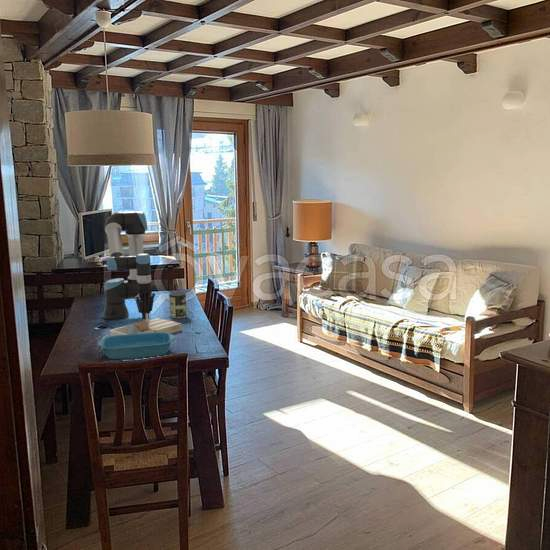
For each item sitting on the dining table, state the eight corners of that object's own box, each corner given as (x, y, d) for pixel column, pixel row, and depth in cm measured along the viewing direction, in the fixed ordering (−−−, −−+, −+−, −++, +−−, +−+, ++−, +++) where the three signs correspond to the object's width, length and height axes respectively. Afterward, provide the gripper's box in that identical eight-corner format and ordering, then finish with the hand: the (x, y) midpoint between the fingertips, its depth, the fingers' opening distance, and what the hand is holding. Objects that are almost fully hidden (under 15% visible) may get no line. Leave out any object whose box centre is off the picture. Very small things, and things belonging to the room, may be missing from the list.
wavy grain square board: (133, 331, 315) (132, 324, 314) (158, 324, 329) (157, 318, 328) (156, 337, 303) (156, 330, 302) (181, 330, 317) (181, 323, 316)
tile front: (134, 330, 306) (131, 335, 305) (128, 324, 303) (124, 328, 301) (141, 332, 303) (138, 337, 301) (135, 325, 299) (132, 330, 298)
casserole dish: (96, 363, 262) (95, 348, 261) (100, 349, 283) (99, 335, 282) (177, 357, 270) (176, 342, 269) (174, 343, 292) (173, 330, 290)
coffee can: (189, 314, 353) (188, 292, 350) (183, 318, 343) (182, 296, 340) (173, 314, 355) (172, 292, 352) (167, 317, 345) (166, 295, 342)
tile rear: (132, 329, 306) (132, 324, 305) (141, 326, 310) (141, 320, 310) (140, 331, 302) (139, 325, 301) (148, 327, 307) (148, 322, 306)
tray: (109, 338, 302) (108, 330, 301) (133, 331, 314) (133, 324, 313) (130, 344, 291) (129, 335, 290) (154, 337, 303) (154, 329, 302)
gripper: (138, 284, 298) (140, 328, 302) (158, 281, 308) (159, 323, 312) (129, 283, 302) (132, 326, 306) (149, 279, 312) (150, 321, 316)
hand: (146, 324), depth 309 cm, fingers closed
